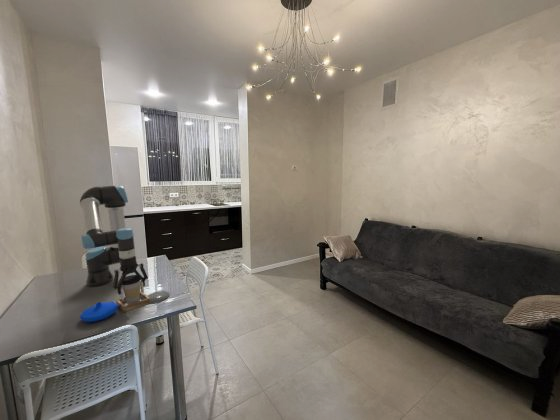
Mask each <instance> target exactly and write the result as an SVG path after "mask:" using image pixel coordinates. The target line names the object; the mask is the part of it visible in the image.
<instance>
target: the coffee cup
mask: <svg viewBox="0 0 560 420" xmlns="http://www.w3.org/2000/svg"><path fill="white" fill-rule="evenodd" d="M140 281H141V279H140V278H139V276H137V275H136V274H131V275H128V276H127V275H126V277H125V279H124V282H123V283H122V288H123V295H124V297H126V300H127V302H126V303H127V306H128V305H131V304H134V303H136V302H139V301H141V297H140V292H141V288H140Z"/></svg>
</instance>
